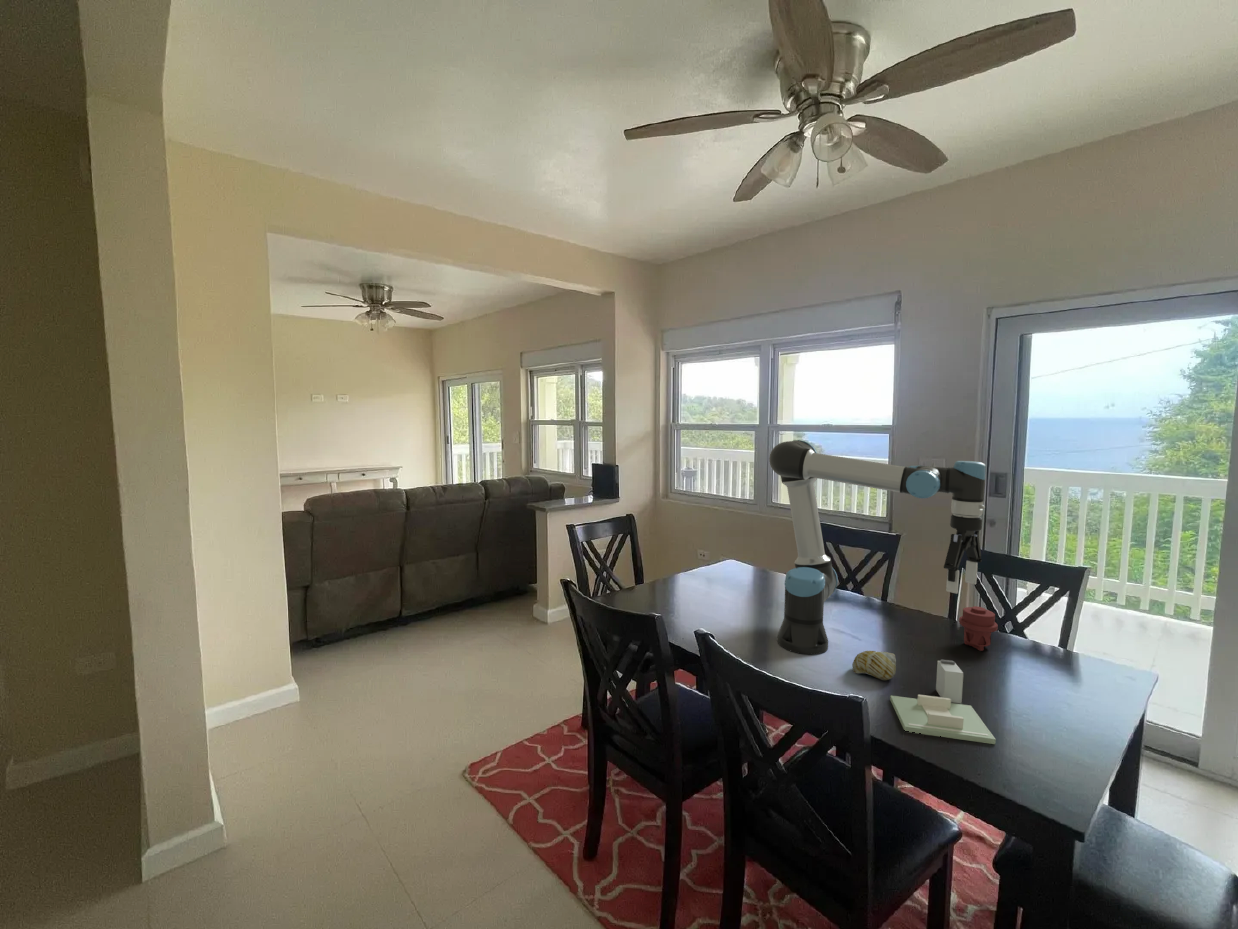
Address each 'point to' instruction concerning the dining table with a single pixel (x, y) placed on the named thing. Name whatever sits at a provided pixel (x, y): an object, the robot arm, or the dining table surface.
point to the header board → (941, 718)
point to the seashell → (875, 664)
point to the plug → (949, 680)
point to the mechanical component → (978, 626)
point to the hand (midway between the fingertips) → (961, 587)
